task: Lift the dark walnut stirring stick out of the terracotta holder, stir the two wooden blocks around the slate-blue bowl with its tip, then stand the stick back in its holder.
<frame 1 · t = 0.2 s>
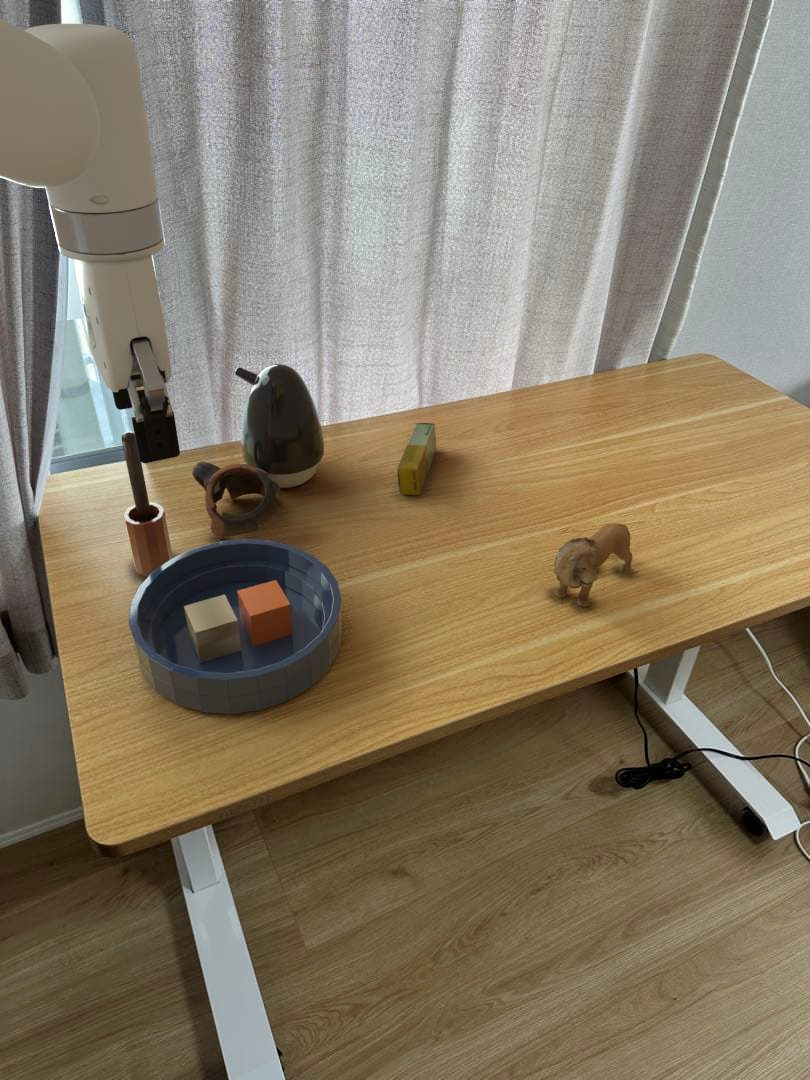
hand: (146, 430, 69), 21 cm above the table, tool pointing down, fingers open, 9 cm apart
pale block: (215, 643, 78), point 1 cm above the table, touching bowl
holder: (154, 565, 88), on the table
pump dispenser: (284, 477, 103), on the table
stick: (153, 561, 87), point 1 cm above the table, touching holder
pottery mug: (238, 517, 96), on the table
bowl: (241, 639, 79), on the table
orange block: (266, 627, 80), point 1 cm above the table, touching bowl
lion figurine: (589, 591, 87), on the table
medication box: (417, 473, 105), on the table
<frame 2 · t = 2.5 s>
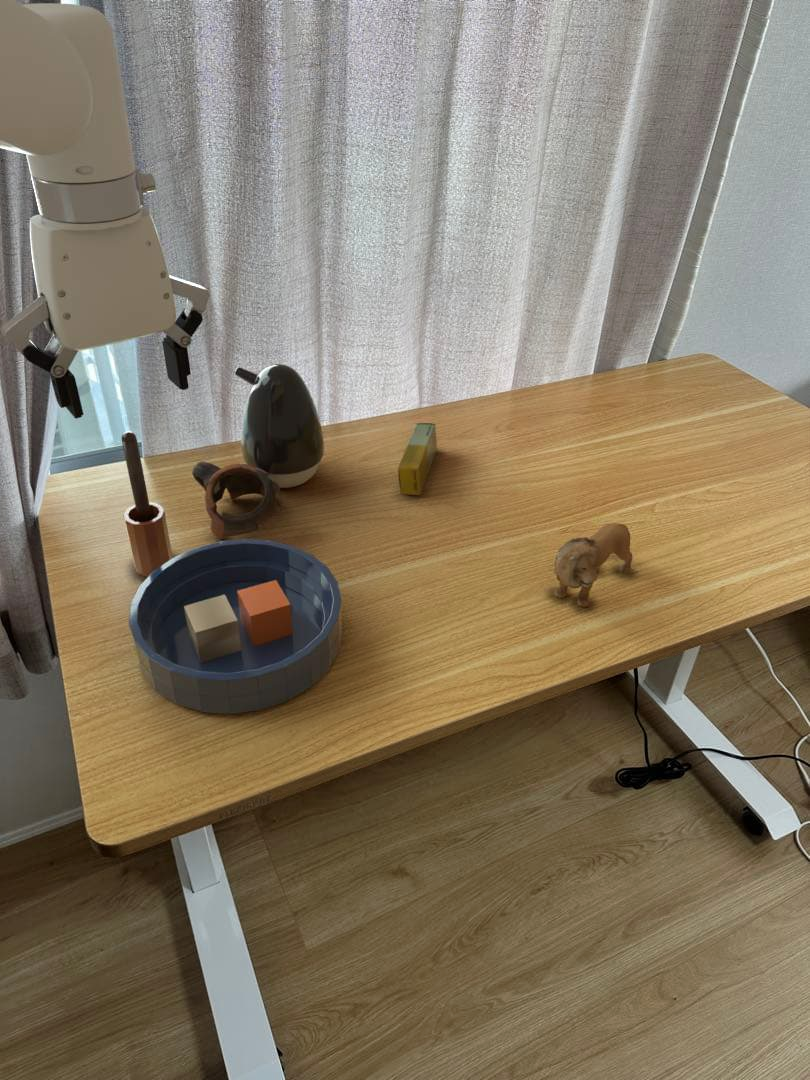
hand: (127, 397, 72), 22 cm above the table, tool pointing down, fingers open, 9 cm apart
nothing on the table moved.
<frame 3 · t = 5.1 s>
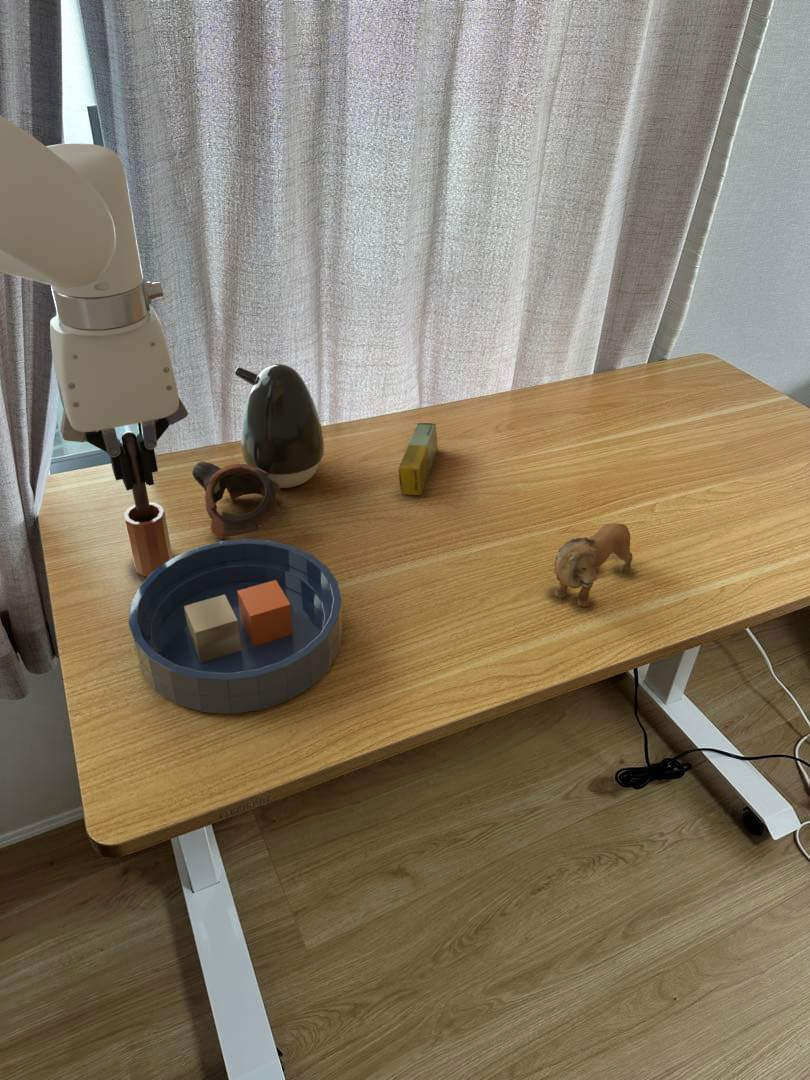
hand: (137, 479, 81), 11 cm above the table, tool pointing down, fingers closed on stick, 1 cm apart
stick: (153, 561, 87), point 1 cm above the table, touching gripper, holder
everything else where it was.
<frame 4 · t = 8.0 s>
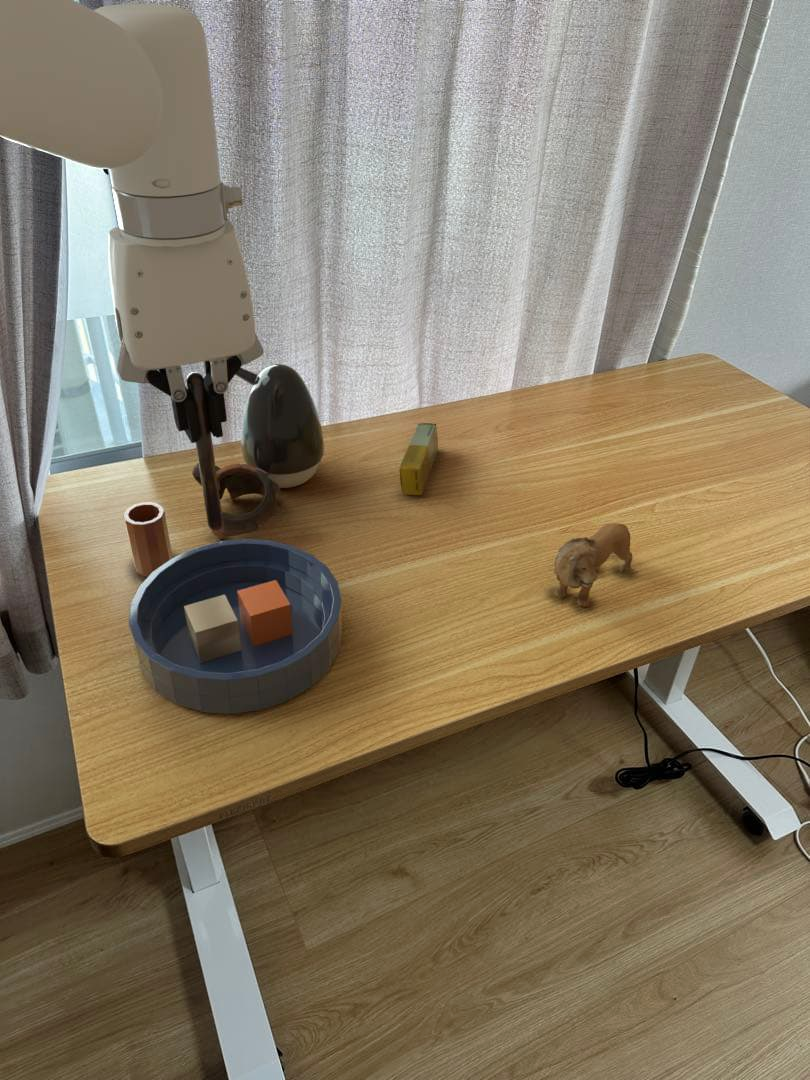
hand: (202, 431, 69), 21 cm above the table, tool pointing down, fingers closed on stick, 1 cm apart
stick: (216, 528, 76), point 11 cm above the table, touching gripper
everything else where it was.
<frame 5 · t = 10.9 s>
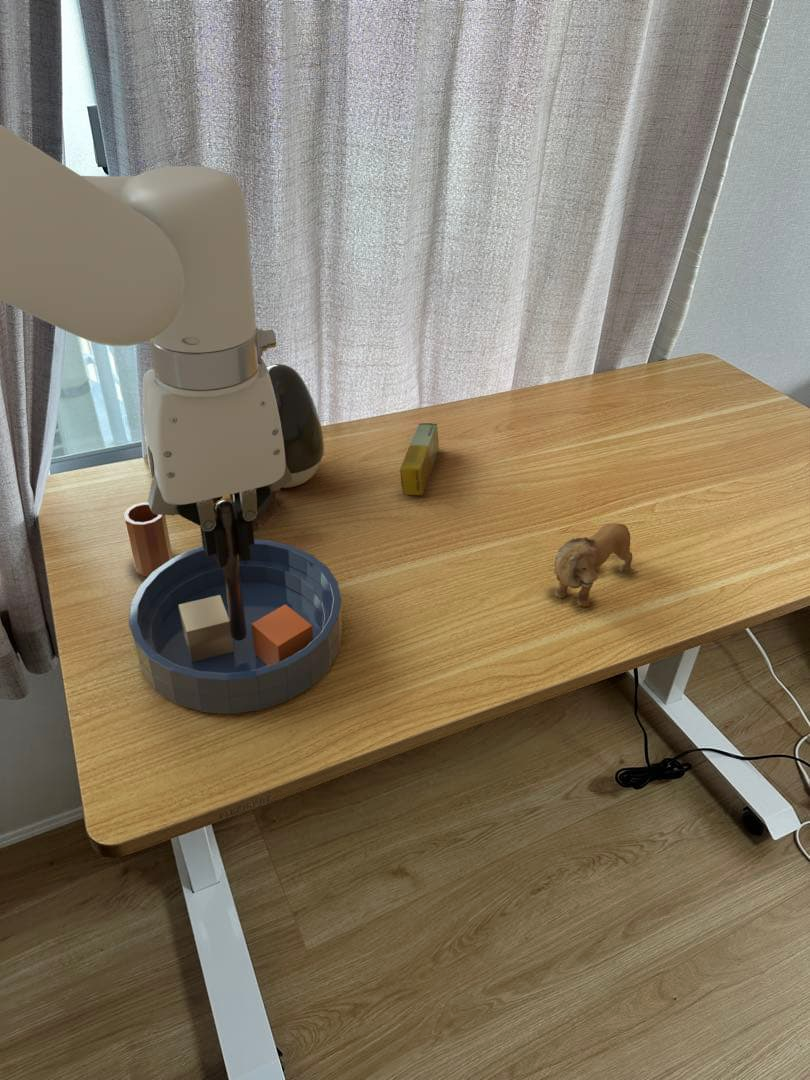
hand: (229, 553, 69), 13 cm above the table, tool pointing down, fingers closed on stick, 1 cm apart
pale block: (208, 643, 78), point 1 cm above the table, touching stick
stick: (239, 638, 76), point 2 cm above the table, touching gripper, pale block
orange block: (284, 655, 77), point 1 cm above the table, touching bowl
everything else where it was.
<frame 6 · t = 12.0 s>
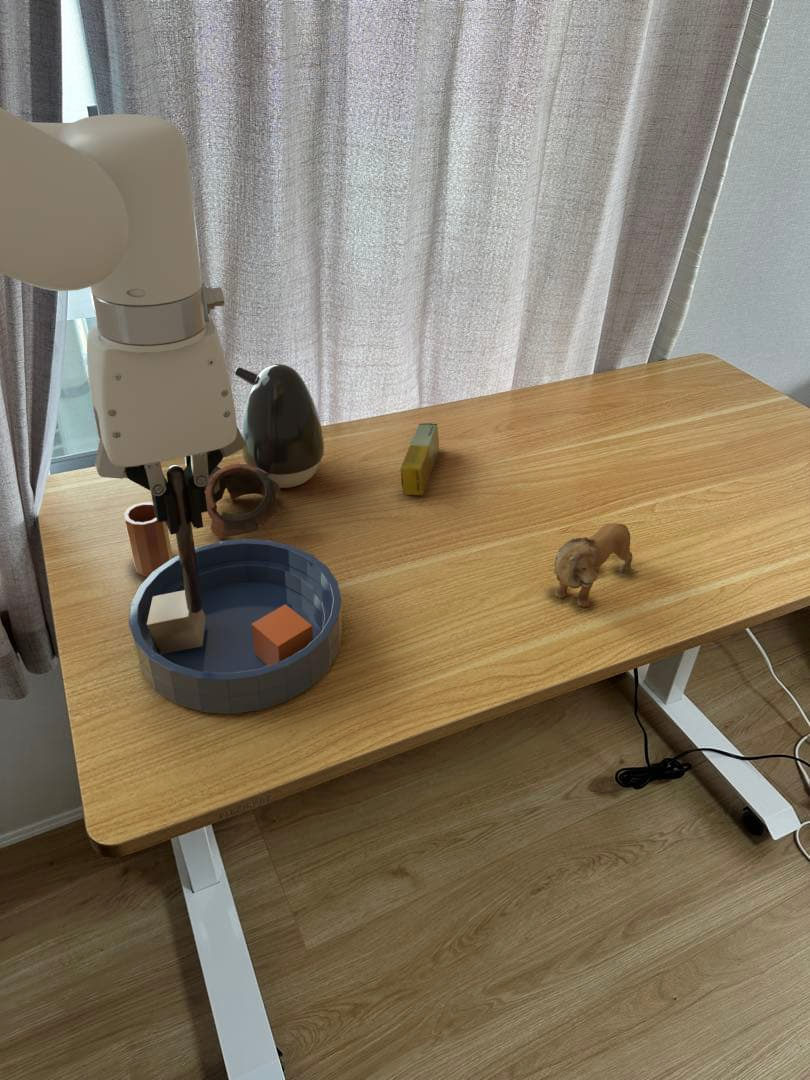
hand: (182, 521, 68), 16 cm above the table, tool pointing down, fingers closed on stick, 1 cm apart
pale block: (184, 635, 78), point 1 cm above the table, tilted 12°, touching bowl
stick: (195, 611, 75), point 5 cm above the table, touching gripper
everything else where it was.
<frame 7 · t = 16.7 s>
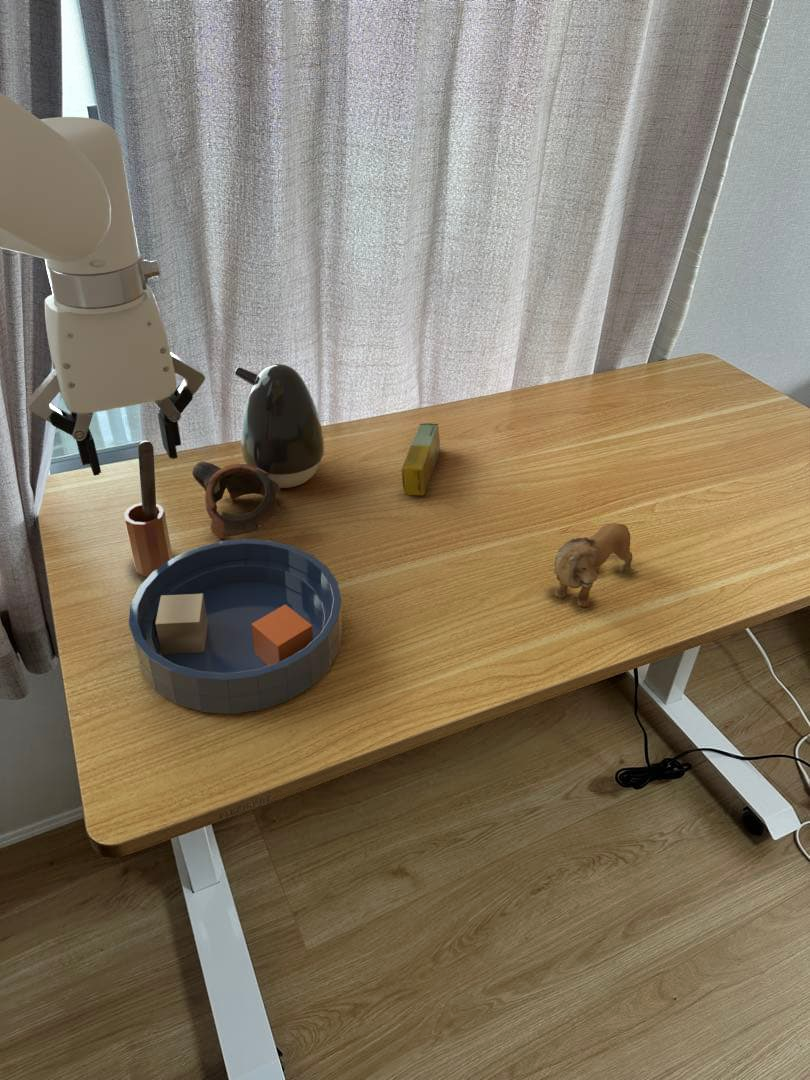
hand: (133, 458, 80), 14 cm above the table, tool pointing down, fingers open, 6 cm apart
pale block: (185, 638, 78), point 1 cm above the table, touching bowl
stick: (152, 559, 88), point 1 cm above the table, tilted 10°, touching holder
everything else where it was.
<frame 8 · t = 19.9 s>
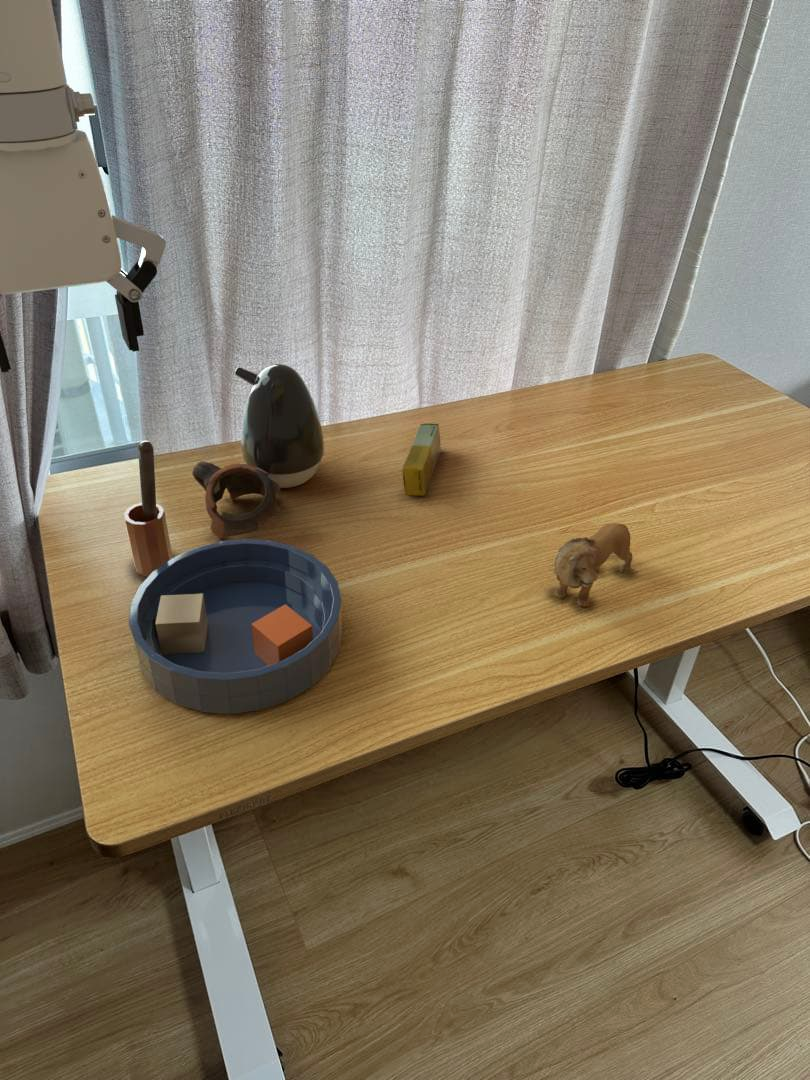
hand: (69, 354, 64), 28 cm above the table, tool pointing down, fingers open, 9 cm apart
nothing on the table moved.
at the end: orange block moved 4.3 cm from its start; orange block inside the target area in the bowl (5.2 cm from its centre), point 0.6 cm above the bowl's base; stick 0.3 cm from the holder (horizontally) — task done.
